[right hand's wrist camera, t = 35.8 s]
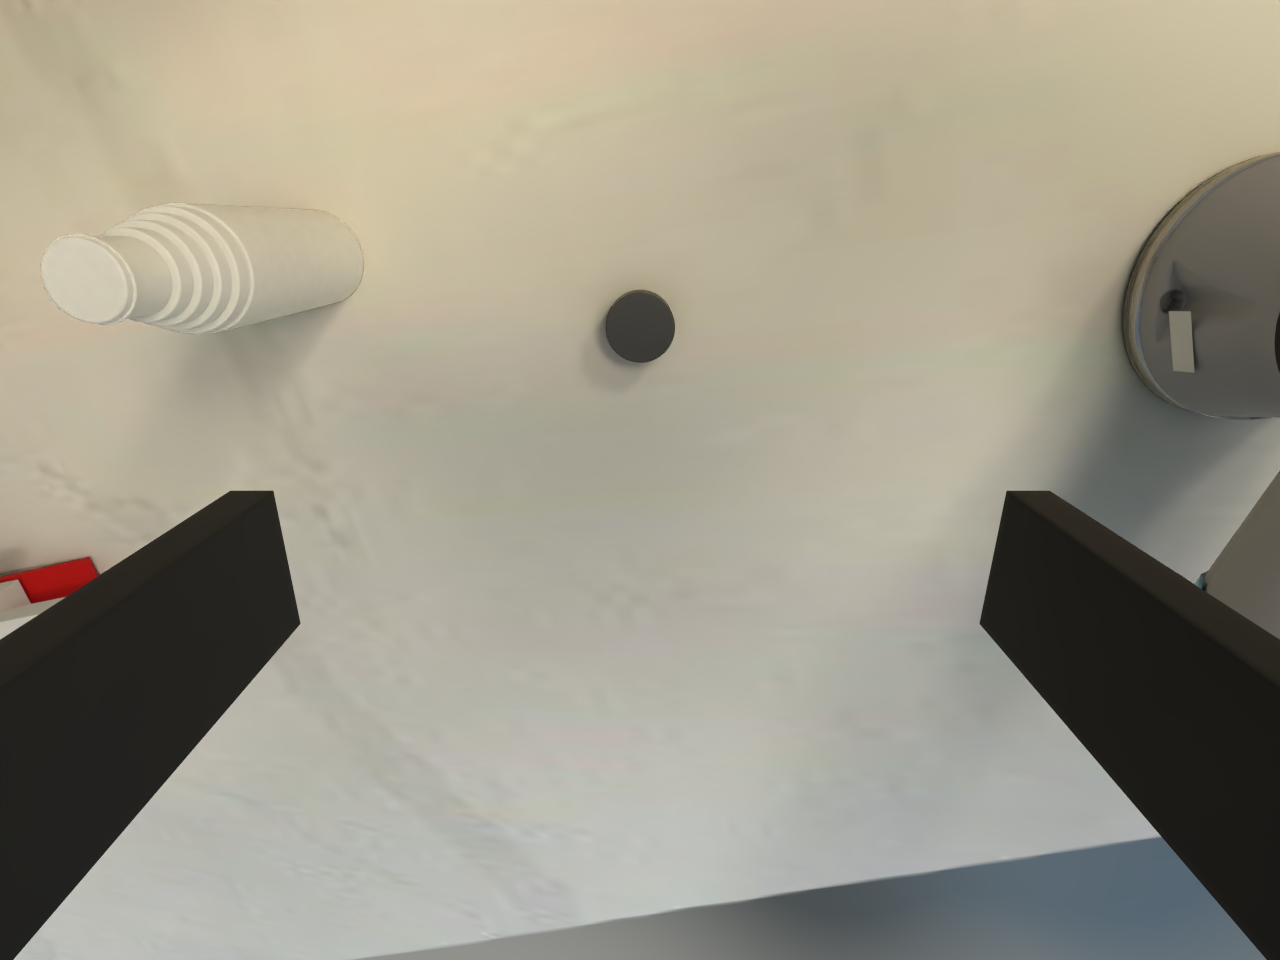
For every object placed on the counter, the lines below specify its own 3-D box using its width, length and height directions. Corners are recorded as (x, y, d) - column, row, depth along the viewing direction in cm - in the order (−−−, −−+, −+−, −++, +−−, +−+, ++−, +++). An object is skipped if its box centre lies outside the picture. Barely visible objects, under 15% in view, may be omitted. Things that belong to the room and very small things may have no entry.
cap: (595, 309, 42) (593, 313, 40) (654, 277, 41) (655, 279, 39) (626, 368, 43) (626, 374, 41) (684, 338, 42) (686, 342, 40)
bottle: (324, 190, 39) (79, 163, 22) (382, 274, 41) (196, 308, 24) (253, 241, 40) (-33, 252, 23) (313, 320, 42) (87, 386, 25)
